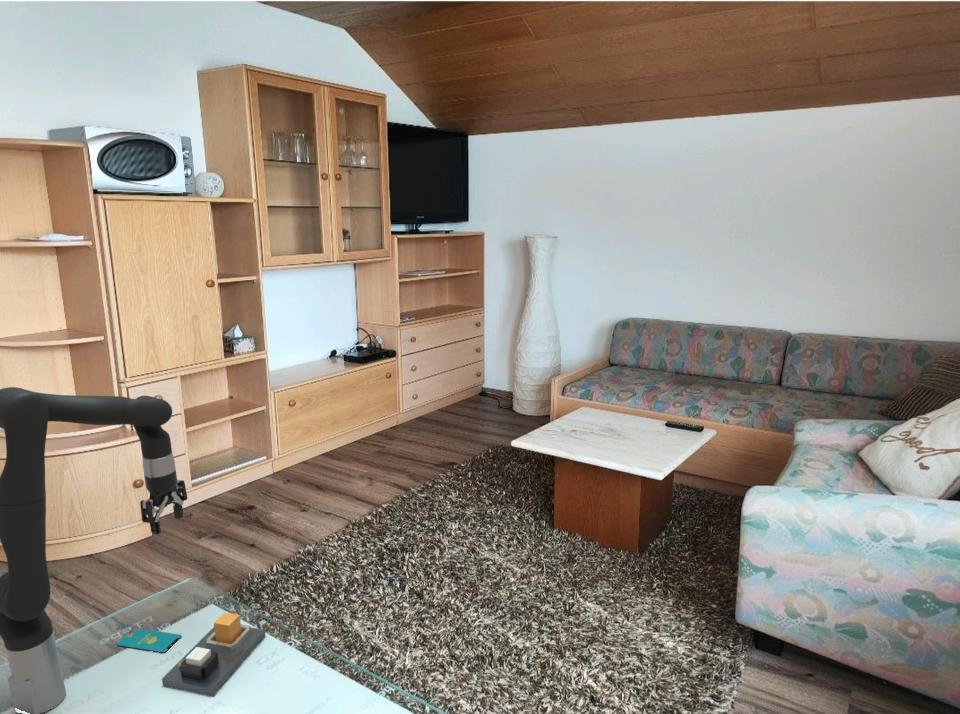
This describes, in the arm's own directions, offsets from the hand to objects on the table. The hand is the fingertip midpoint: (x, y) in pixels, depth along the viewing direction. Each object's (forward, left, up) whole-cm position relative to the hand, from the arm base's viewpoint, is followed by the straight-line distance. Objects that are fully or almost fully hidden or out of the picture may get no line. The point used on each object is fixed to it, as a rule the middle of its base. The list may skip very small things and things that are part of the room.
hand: (168, 525), depth 178 cm
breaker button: (-19, -21, -25) cm, 38 cm away
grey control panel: (-13, -21, -28) cm, 37 cm away
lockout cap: (-7, -21, -26) cm, 34 cm away
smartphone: (-11, +1, -29) cm, 31 cm away
